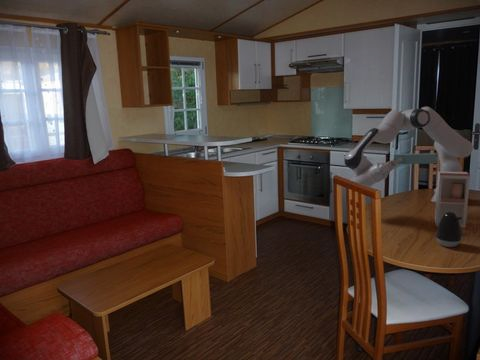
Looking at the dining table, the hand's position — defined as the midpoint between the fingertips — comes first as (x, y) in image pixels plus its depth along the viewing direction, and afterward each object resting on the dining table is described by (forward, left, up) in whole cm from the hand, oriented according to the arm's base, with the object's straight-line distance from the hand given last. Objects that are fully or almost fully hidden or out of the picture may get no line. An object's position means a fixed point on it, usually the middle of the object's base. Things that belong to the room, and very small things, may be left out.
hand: (403, 157), depth 204 cm
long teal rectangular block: (+1, +5, -2) cm, 6 cm away
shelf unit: (-5, +23, -34) cm, 42 cm away
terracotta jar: (-5, +25, -21) cm, 33 cm away
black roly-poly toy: (+25, +19, -35) cm, 47 cm away
